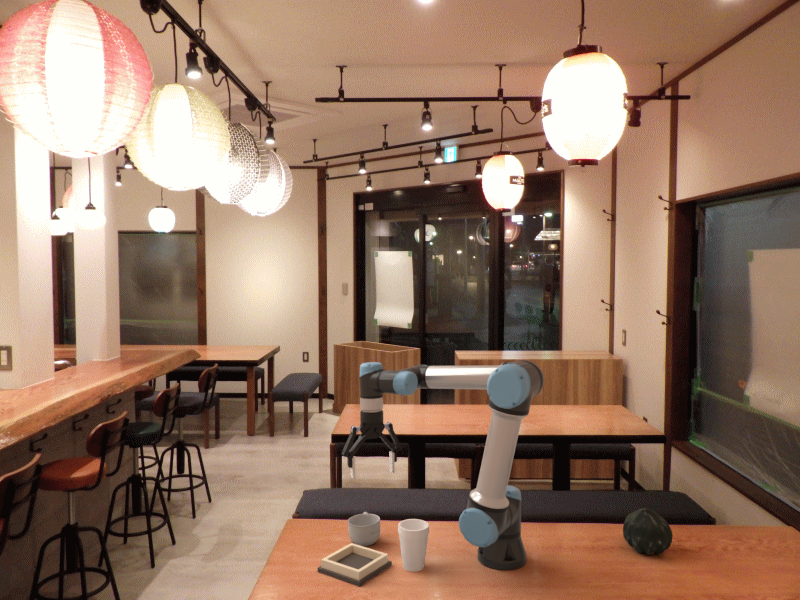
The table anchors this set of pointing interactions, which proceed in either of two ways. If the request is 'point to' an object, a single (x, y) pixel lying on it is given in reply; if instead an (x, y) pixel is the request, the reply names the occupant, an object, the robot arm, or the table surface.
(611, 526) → the table surface
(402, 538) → the foam cup
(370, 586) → the table surface
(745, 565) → the table surface
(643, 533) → the squash
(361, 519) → the teacup
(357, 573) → the tray
